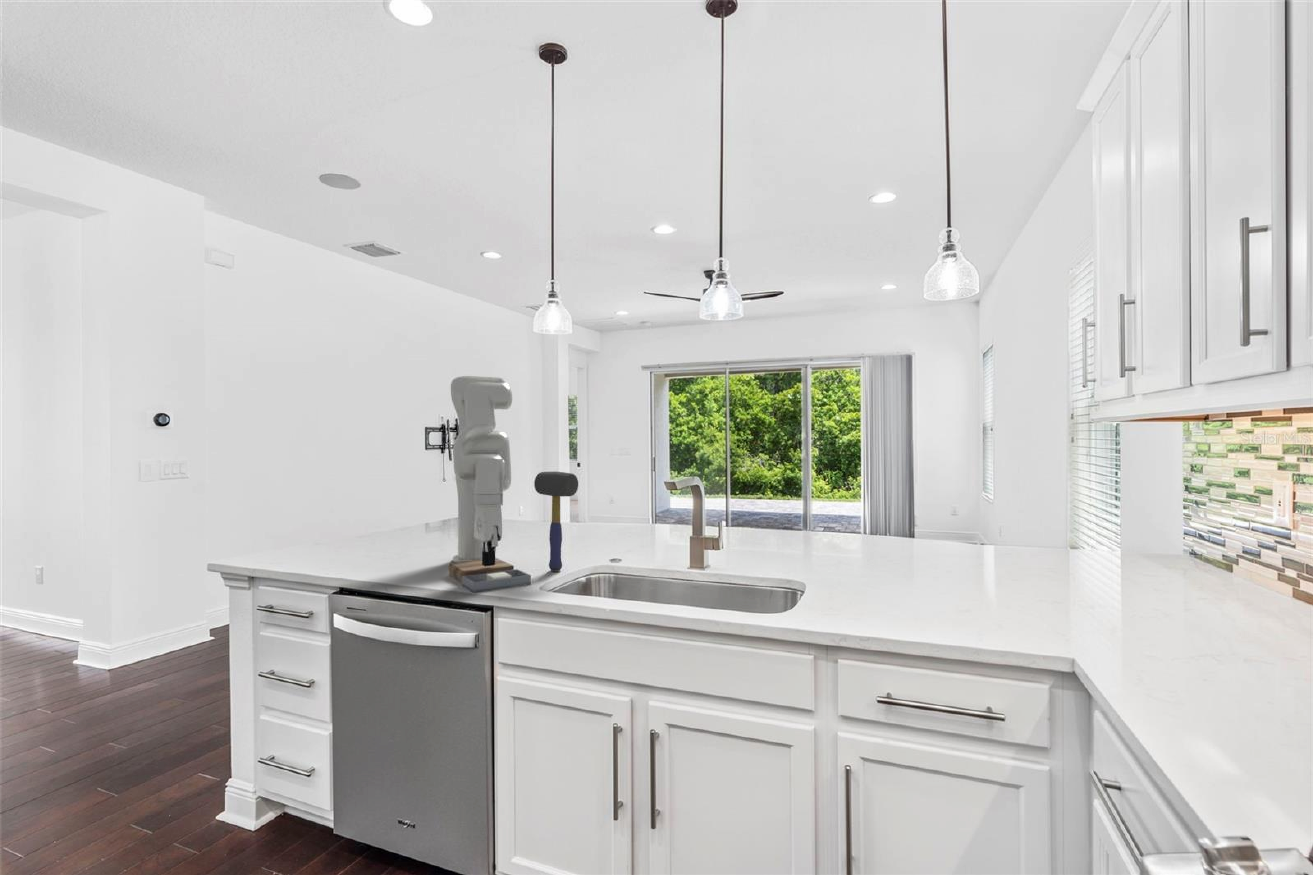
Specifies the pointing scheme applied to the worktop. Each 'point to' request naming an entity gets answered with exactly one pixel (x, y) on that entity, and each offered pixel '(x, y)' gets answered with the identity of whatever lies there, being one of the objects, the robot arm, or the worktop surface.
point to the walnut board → (476, 568)
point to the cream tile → (497, 576)
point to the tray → (495, 581)
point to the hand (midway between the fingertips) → (488, 565)
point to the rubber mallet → (556, 507)
